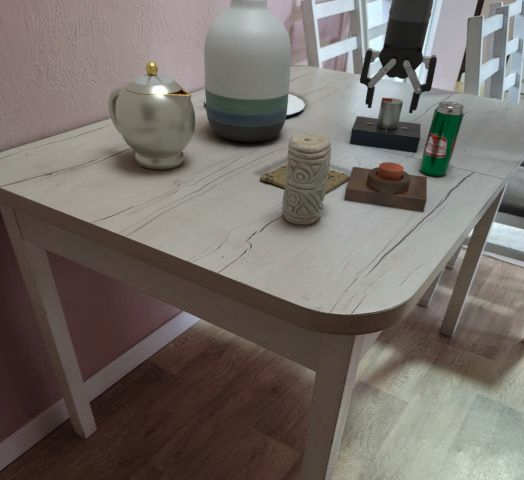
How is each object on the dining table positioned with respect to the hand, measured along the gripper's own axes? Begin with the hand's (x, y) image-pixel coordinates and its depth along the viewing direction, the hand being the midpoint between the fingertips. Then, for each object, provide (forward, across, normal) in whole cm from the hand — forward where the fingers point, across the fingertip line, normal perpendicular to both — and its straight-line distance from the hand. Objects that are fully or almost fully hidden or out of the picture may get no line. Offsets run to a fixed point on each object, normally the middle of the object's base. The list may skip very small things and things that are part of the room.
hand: (389, 109), depth 102 cm
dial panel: (+6, 0, 0) cm, 6 cm away
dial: (+3, 0, 0) cm, 3 cm away
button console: (+6, -2, +29) cm, 30 cm away
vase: (+7, +29, +8) cm, 31 cm away
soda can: (+6, -10, +16) cm, 20 cm away
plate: (+7, +33, -14) cm, 36 cm away
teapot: (+7, +41, +29) cm, 51 cm away
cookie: (+6, +12, +28) cm, 31 cm away
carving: (+6, +10, +43) cm, 45 cm away
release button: (+2, -2, +31) cm, 31 cm away
